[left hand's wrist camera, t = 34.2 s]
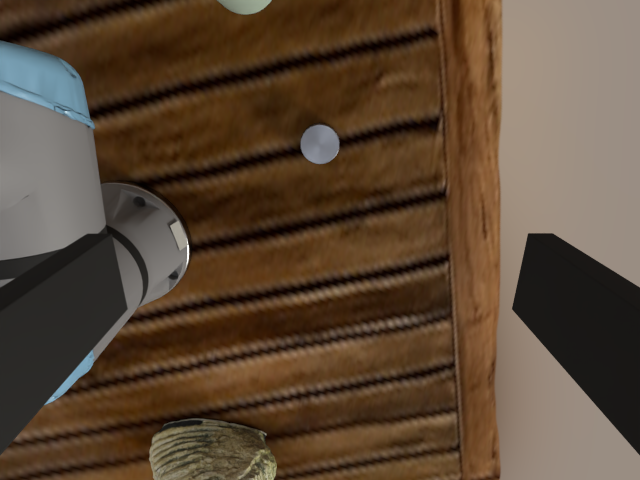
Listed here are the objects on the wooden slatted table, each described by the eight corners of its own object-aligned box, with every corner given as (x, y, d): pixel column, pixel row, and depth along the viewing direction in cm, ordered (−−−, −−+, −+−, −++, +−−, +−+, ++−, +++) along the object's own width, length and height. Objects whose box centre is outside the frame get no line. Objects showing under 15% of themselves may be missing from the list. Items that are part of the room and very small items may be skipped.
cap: (311, 115, 42) (311, 116, 40) (345, 133, 42) (346, 136, 40) (294, 149, 43) (293, 152, 41) (327, 167, 44) (328, 171, 42)
